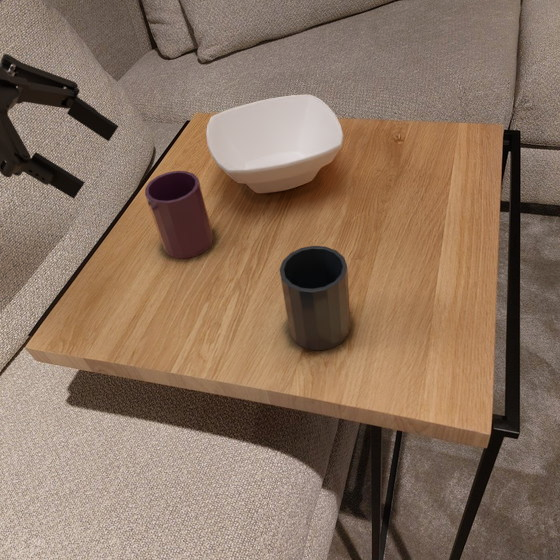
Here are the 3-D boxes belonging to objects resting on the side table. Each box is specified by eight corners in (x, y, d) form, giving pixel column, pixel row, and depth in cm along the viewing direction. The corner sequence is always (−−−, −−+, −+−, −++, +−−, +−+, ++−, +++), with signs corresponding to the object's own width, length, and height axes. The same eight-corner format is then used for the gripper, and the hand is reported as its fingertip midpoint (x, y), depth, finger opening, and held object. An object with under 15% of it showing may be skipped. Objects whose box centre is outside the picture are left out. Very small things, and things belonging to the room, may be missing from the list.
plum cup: (189, 265, 83) (172, 208, 76) (153, 248, 87) (133, 193, 80) (223, 235, 87) (209, 179, 80) (187, 220, 90) (171, 165, 84)
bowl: (359, 196, 90) (357, 147, 84) (227, 227, 88) (216, 180, 82) (322, 132, 105) (318, 86, 99) (209, 157, 103) (198, 113, 97)
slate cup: (328, 360, 68) (322, 300, 61) (277, 335, 72) (266, 276, 65) (361, 319, 72) (359, 258, 65) (311, 297, 76) (304, 238, 69)
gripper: (-117, 84, 59) (74, 200, 67) (-4, -5, 77) (137, 96, 85) (-131, 133, 64) (50, 236, 72) (-21, 39, 81) (114, 130, 89)
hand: (97, 160), depth 78 cm, fingers open, 13 cm apart
